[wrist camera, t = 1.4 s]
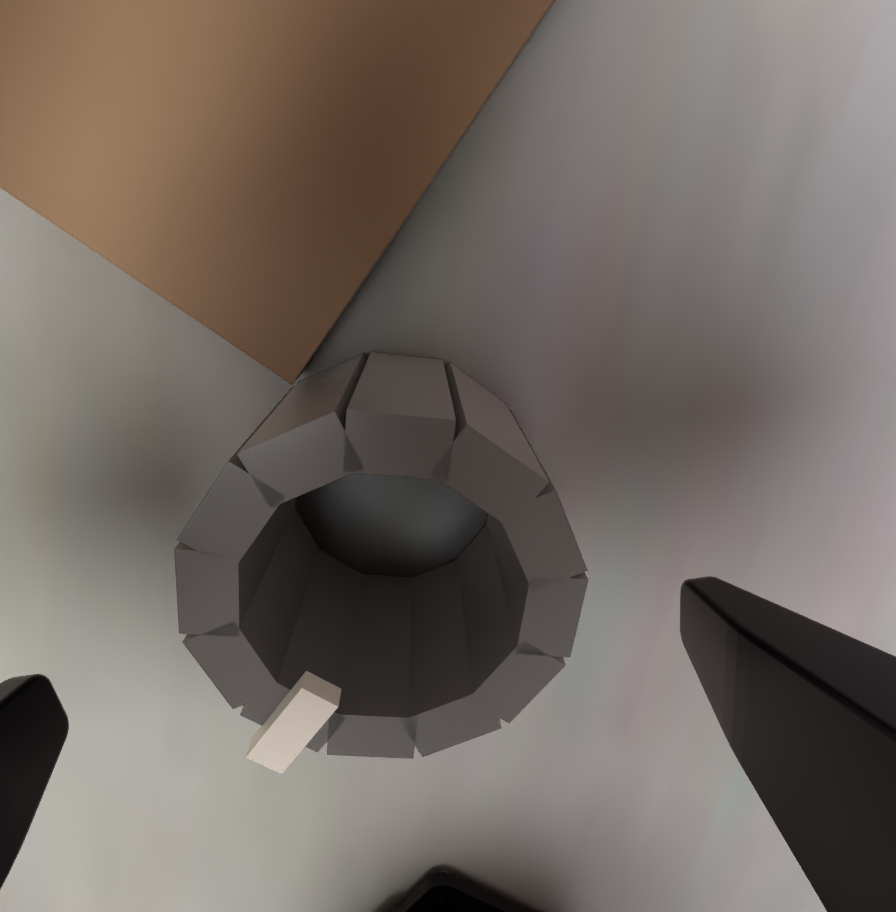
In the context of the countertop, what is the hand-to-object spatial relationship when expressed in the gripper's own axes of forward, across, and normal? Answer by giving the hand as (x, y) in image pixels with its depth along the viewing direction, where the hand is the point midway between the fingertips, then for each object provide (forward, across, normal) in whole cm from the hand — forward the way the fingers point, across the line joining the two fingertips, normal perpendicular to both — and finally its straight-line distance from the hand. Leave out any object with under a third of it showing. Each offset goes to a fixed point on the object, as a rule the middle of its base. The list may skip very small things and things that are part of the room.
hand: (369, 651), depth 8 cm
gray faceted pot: (+6, 0, 0) cm, 6 cm away
